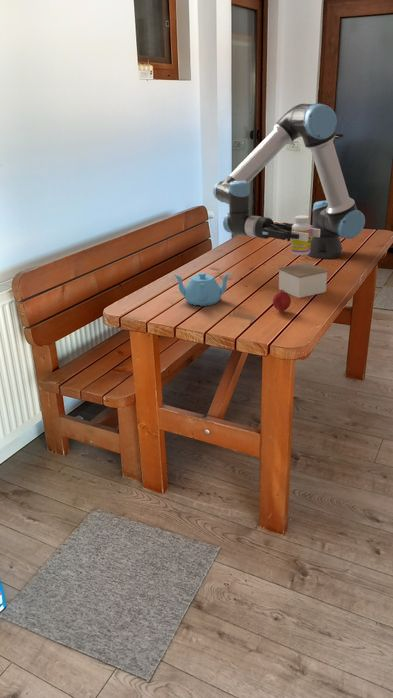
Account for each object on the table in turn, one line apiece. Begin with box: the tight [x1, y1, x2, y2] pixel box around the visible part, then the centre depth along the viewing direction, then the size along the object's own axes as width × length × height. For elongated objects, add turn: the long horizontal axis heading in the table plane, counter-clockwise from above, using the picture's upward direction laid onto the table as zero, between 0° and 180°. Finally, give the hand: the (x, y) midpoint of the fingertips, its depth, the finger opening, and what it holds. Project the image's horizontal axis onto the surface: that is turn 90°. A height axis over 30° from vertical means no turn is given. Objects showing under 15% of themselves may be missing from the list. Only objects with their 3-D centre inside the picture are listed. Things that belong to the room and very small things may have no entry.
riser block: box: [278, 262, 329, 299], centre depth 207 cm, size 12×12×8 cm
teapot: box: [173, 271, 232, 307], centre depth 200 cm, size 15×15×10 cm
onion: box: [272, 289, 292, 313], centre depth 187 cm, size 6×6×8 cm
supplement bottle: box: [290, 214, 312, 256], centre depth 200 cm, size 7×7×13 cm
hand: (313, 235), depth 197 cm, fingers closed on supplement bottle, 7 cm apart
